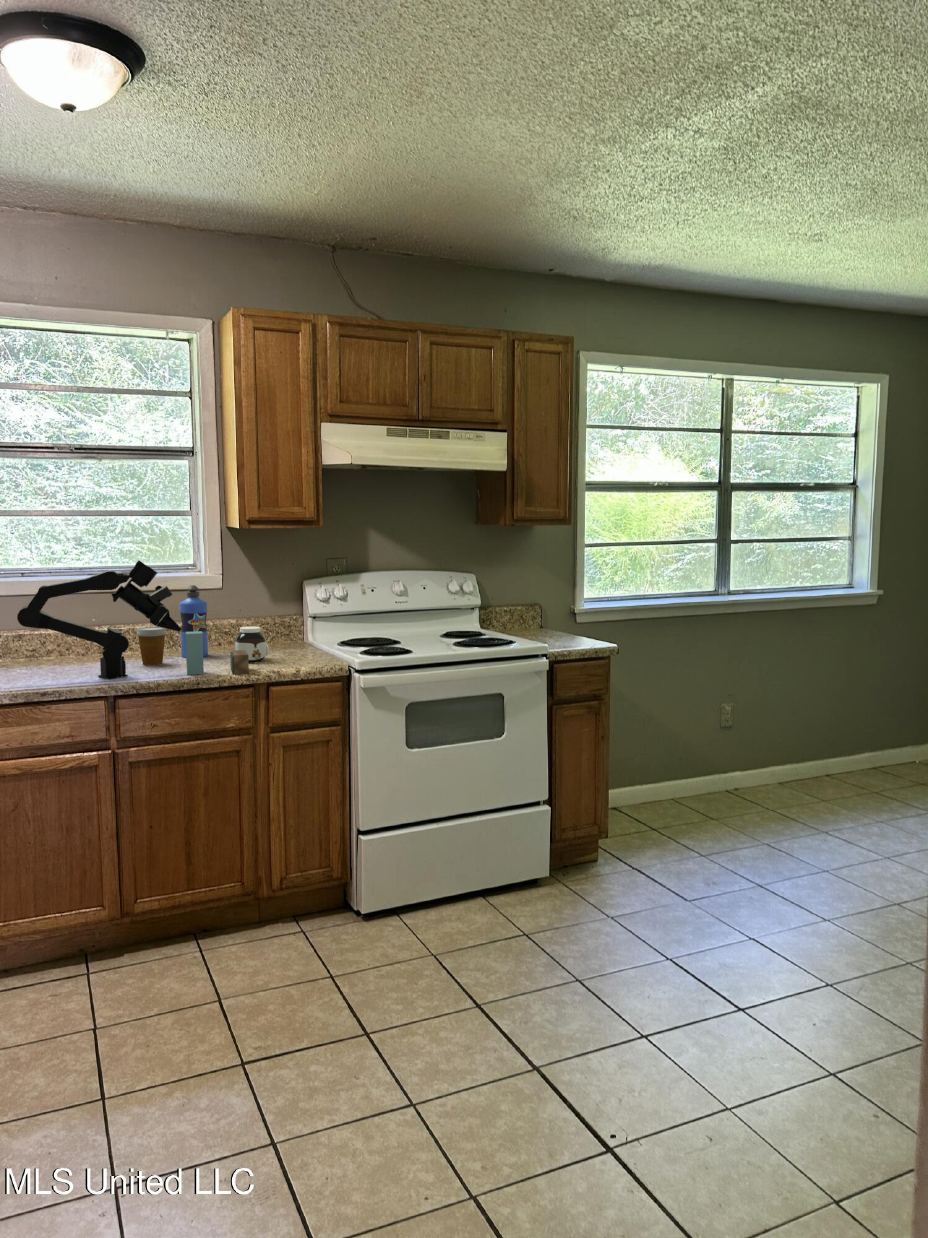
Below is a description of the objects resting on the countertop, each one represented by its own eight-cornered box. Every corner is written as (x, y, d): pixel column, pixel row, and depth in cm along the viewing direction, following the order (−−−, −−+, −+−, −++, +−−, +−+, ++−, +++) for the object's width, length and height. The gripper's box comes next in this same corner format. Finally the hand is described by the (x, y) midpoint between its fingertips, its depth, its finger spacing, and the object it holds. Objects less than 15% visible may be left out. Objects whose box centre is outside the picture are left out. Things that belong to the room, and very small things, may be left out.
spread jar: (237, 664, 311) (236, 629, 309) (232, 659, 321) (232, 625, 320) (273, 662, 315) (272, 628, 314) (267, 657, 325) (266, 624, 324)
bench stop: (232, 674, 291) (232, 655, 290) (230, 669, 300) (230, 650, 300) (248, 673, 292) (248, 654, 292) (246, 668, 302) (246, 650, 301)
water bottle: (176, 655, 327) (174, 585, 324) (201, 653, 333) (199, 584, 330) (187, 659, 320) (185, 587, 317) (213, 656, 326) (211, 585, 323)
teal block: (187, 675, 289) (185, 633, 288) (186, 672, 294) (185, 631, 293) (203, 674, 291) (202, 633, 289) (203, 671, 296) (202, 631, 294)
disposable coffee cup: (131, 665, 307) (130, 629, 306) (151, 660, 316) (150, 626, 315) (153, 667, 304) (152, 630, 302) (173, 662, 312) (172, 627, 311)
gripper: (155, 580, 278) (198, 611, 284) (151, 576, 295) (191, 605, 301) (132, 610, 276) (175, 640, 282) (129, 604, 294) (170, 632, 299)
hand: (179, 628), depth 291 cm, fingers open, 9 cm apart
